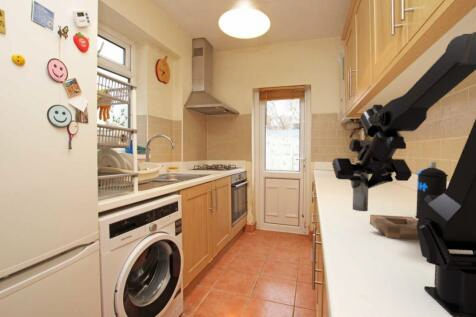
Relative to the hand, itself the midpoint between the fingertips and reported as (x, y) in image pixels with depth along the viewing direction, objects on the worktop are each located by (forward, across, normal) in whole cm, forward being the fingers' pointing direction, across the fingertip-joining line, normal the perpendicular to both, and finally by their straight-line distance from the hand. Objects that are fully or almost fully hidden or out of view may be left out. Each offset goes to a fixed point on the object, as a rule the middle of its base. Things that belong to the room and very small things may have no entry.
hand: (359, 187), depth 69 cm
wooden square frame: (+8, -11, +10) cm, 17 cm away
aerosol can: (+18, -30, 0) cm, 35 cm away
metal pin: (+4, 0, +5) cm, 7 cm away
